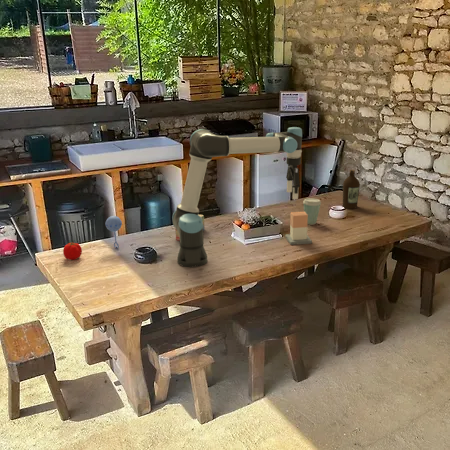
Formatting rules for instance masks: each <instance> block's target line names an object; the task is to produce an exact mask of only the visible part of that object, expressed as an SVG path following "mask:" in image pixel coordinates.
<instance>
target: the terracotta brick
mask: <svg viewBox="0 0 450 450" xmlns="http://www.w3.org/2000/svg"><path fill="white" fill-rule="evenodd" d="M289 217H290V222H289V224H290V225H291V226H292V227H293V228H301V227H307V228H308V224H307V221H308V215H307V214H306V212H304V211H291V212H290V216H289Z"/></svg>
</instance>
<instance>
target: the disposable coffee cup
mask: <svg viewBox="0 0 450 450" xmlns="http://www.w3.org/2000/svg"><path fill="white" fill-rule="evenodd" d="M302 203H303V212H306V214H307V215H308V221H307V225H316V223H317V221H318V217H319V213H320V208H321V204H322V201H321V199H318V198H309V197H308V198H304V200H303V201H302Z"/></svg>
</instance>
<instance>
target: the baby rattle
mask: <svg viewBox="0 0 450 450" xmlns="http://www.w3.org/2000/svg"><path fill="white" fill-rule="evenodd" d="M122 225H123V221H122V220H121V218H120V217H119V216H117V215H111V216H108V218H107V219H106V221H105V227H106V229H107V230H108V231H110V232H113V233H114V243H113V246H114V248H115V247H117V248H116V249H119V248H120V245H119V244H118V242H117V236H116V232H118V231H119V230H120V229H121V228H122Z"/></svg>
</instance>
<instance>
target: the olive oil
mask: <svg viewBox="0 0 450 450" xmlns="http://www.w3.org/2000/svg"><path fill="white" fill-rule="evenodd" d="M355 172H356V171H355V169H349V175H348V176H347V177H346V179H345V180H343V183H342V208H343V207H345V208H344V209H347V210H354V209H357V208H358V200H359V193H360V187H361V186H360V185H361V184H360V181H359V179H358V178H357V177H356V176H355V174H356V173H355Z"/></svg>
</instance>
